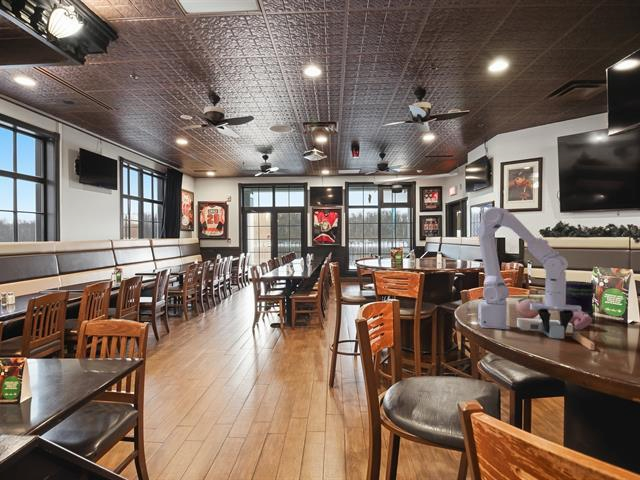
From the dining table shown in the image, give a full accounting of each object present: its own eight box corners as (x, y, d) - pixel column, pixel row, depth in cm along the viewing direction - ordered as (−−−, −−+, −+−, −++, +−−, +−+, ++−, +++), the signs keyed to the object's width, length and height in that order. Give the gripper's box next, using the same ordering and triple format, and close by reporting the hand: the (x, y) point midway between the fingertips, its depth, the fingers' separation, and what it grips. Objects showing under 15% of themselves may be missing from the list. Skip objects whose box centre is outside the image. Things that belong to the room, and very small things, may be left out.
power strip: (521, 330, 127) (522, 320, 127) (516, 325, 133) (517, 316, 133) (573, 333, 123) (573, 323, 123) (565, 328, 129) (565, 319, 129)
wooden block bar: (596, 350, 105) (596, 342, 105) (588, 349, 105) (589, 341, 105) (578, 338, 116) (578, 331, 116) (572, 338, 117) (572, 331, 117)
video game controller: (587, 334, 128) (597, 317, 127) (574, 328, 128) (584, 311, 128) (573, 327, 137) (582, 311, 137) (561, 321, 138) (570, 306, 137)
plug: (548, 337, 117) (548, 325, 117) (540, 332, 124) (540, 320, 124) (565, 338, 116) (565, 326, 116) (556, 333, 123) (557, 321, 123)
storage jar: (585, 323, 137) (586, 285, 137) (558, 318, 146) (558, 281, 145) (598, 320, 142) (598, 283, 142) (570, 315, 151) (571, 280, 150)
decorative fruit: (530, 316, 148) (531, 292, 148) (545, 321, 140) (546, 296, 140) (510, 317, 147) (510, 293, 146) (524, 322, 138) (524, 296, 138)
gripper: (535, 292, 116) (534, 333, 117) (586, 294, 113) (585, 337, 113) (528, 289, 123) (527, 328, 124) (576, 291, 120) (575, 331, 120)
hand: (554, 332), depth 119 cm, fingers closed on plug, 4 cm apart
